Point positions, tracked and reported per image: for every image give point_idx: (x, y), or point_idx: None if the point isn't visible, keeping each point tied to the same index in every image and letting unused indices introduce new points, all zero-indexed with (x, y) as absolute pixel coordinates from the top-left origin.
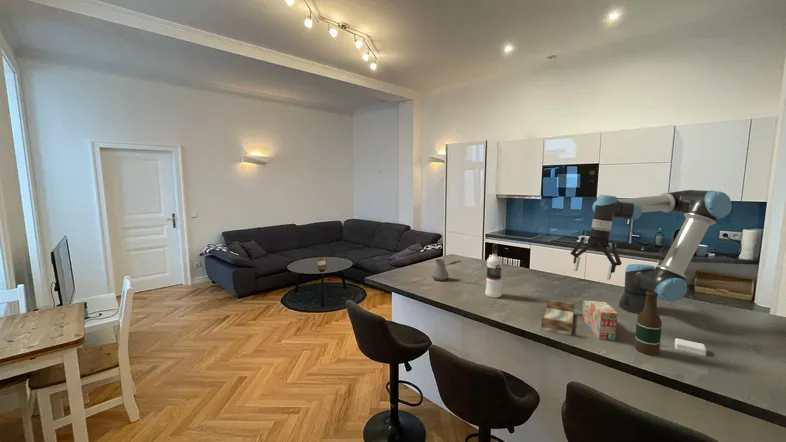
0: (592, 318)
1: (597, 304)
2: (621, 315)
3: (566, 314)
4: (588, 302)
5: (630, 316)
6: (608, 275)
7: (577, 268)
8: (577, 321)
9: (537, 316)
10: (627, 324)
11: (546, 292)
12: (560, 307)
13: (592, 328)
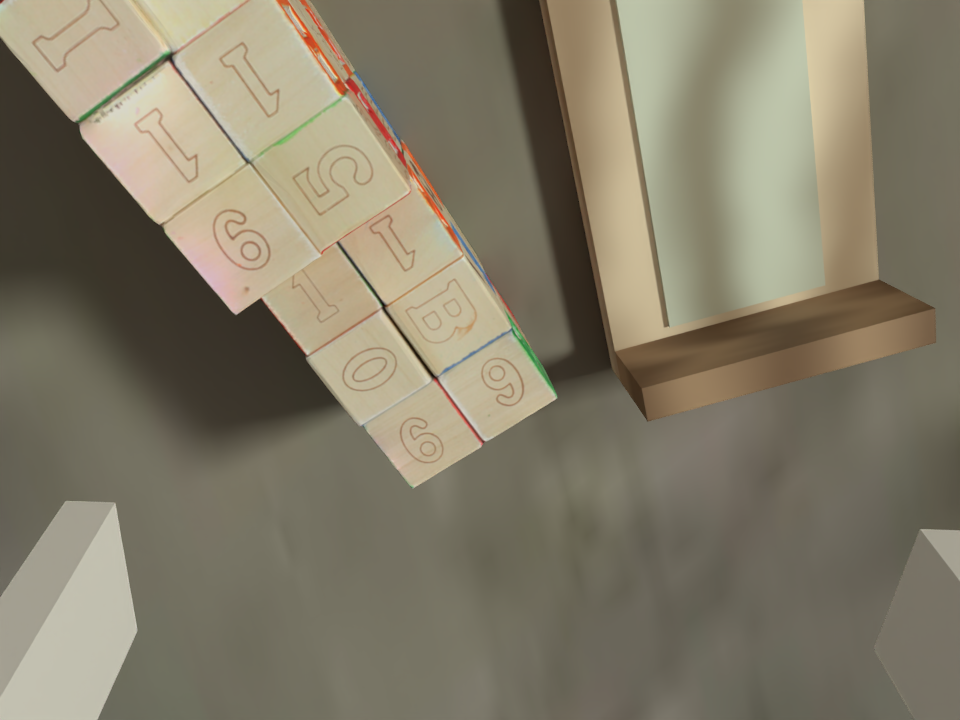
0: (346, 71)
1: (281, 107)
2: (248, 640)
3: (661, 223)
4: (480, 368)
5: (182, 670)
6: (39, 588)
7: (922, 666)
8: (531, 200)
9: (921, 25)
10: (135, 470)
11: None
12: (756, 326)
13: (338, 46)
